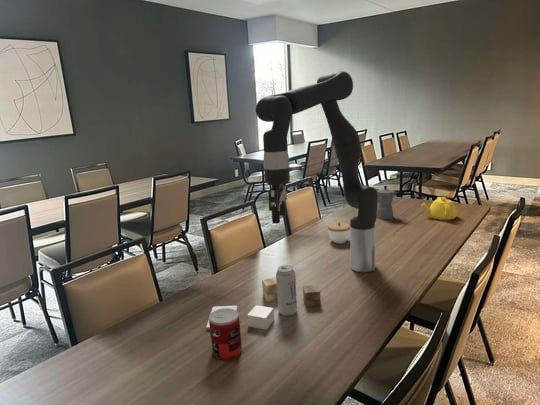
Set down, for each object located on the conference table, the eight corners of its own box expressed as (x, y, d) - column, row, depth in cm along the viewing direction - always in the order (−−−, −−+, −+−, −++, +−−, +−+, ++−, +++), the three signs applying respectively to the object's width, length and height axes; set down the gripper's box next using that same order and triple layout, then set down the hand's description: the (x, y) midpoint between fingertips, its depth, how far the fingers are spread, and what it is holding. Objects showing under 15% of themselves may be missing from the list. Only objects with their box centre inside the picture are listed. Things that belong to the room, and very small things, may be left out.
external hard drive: (206, 332, 114) (213, 310, 126) (233, 330, 114) (237, 309, 126) (205, 327, 114) (212, 306, 126) (233, 326, 114) (237, 305, 126)
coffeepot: (400, 216, 212) (400, 185, 208) (391, 221, 206) (392, 188, 202) (375, 212, 223) (375, 182, 219) (366, 216, 217) (366, 185, 213)
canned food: (213, 344, 107) (209, 309, 104) (241, 341, 107) (238, 306, 105) (211, 362, 99) (207, 324, 97) (242, 358, 100) (238, 321, 97)
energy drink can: (291, 318, 117) (289, 273, 114) (274, 314, 121) (272, 270, 117) (300, 309, 122) (298, 266, 119) (284, 305, 125) (281, 263, 122)
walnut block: (318, 298, 129) (317, 284, 128) (320, 305, 124) (320, 291, 123) (303, 299, 129) (302, 285, 128) (305, 306, 124) (304, 292, 123)
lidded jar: (325, 244, 178) (325, 225, 176) (330, 236, 188) (330, 218, 185) (348, 246, 174) (348, 226, 172) (352, 238, 184) (352, 219, 181)
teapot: (416, 212, 219) (417, 194, 216) (450, 211, 216) (451, 193, 213) (425, 223, 199) (426, 202, 197) (462, 222, 197) (464, 201, 194)
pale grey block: (274, 319, 118) (273, 308, 117) (266, 330, 113) (265, 318, 112) (256, 316, 120) (256, 305, 119) (248, 326, 115) (247, 314, 114)
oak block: (276, 292, 135) (275, 277, 133) (281, 299, 130) (280, 283, 128) (263, 295, 133) (261, 280, 132) (267, 302, 128) (266, 286, 127)
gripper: (284, 170, 105) (287, 226, 108) (293, 162, 118) (295, 213, 122) (258, 170, 106) (261, 225, 110) (269, 163, 120) (272, 212, 124)
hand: (279, 219), depth 116 cm, fingers open, 8 cm apart
